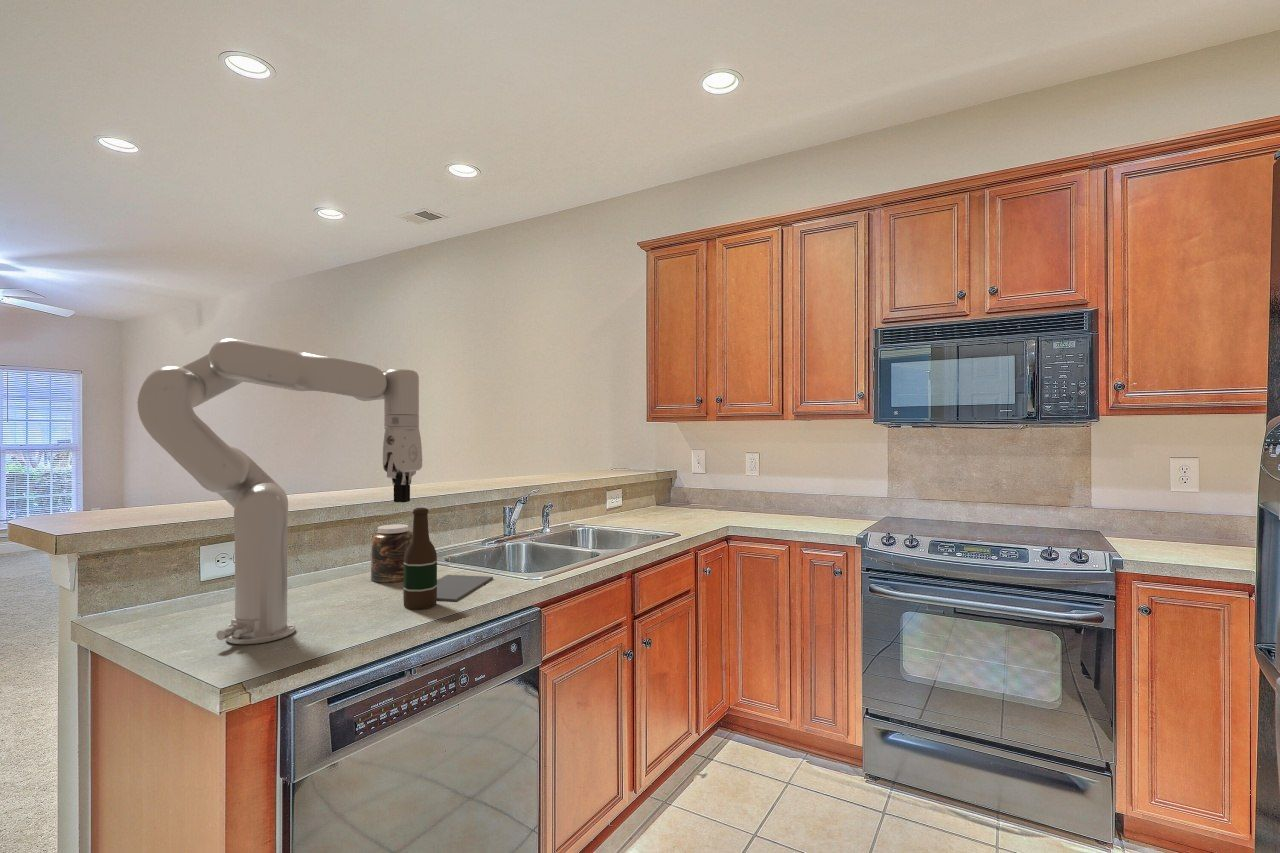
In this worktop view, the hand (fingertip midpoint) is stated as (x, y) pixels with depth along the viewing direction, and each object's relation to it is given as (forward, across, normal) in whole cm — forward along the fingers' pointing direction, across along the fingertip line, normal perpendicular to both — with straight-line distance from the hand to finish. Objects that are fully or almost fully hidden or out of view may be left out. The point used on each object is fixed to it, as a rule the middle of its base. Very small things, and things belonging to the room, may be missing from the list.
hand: (401, 501), depth 146 cm
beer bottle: (+27, +9, 0) cm, 28 cm away
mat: (+27, +26, 0) cm, 37 cm away
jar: (+27, +34, +22) cm, 49 cm away
